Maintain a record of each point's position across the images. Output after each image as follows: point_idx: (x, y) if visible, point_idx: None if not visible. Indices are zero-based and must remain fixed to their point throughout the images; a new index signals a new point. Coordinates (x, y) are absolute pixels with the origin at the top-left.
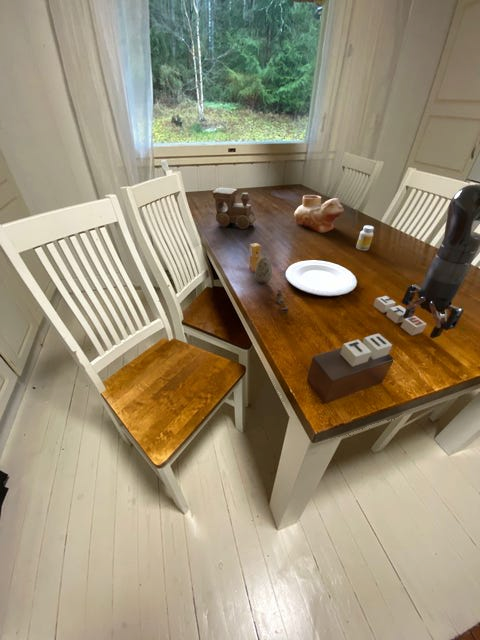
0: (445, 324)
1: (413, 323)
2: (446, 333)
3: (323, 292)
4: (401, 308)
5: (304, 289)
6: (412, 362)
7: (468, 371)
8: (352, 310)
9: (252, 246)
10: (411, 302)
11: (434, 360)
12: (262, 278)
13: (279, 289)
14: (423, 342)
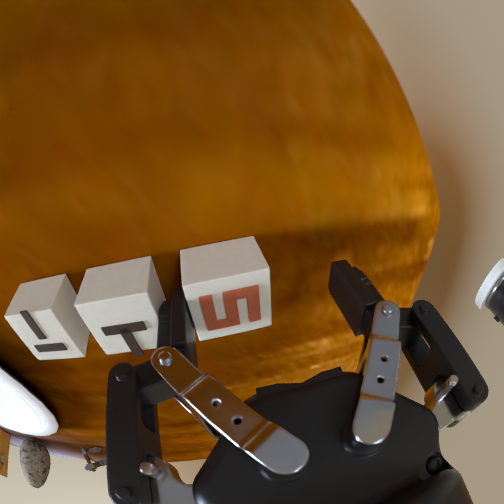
0: (407, 355)
1: (243, 323)
2: (302, 117)
3: (45, 419)
4: (105, 313)
5: (48, 433)
6: (343, 335)
7: (432, 222)
8: (92, 384)
9: (5, 476)
10: (158, 389)
11: (371, 283)
12: (49, 459)
13: (90, 470)
14: (306, 269)
